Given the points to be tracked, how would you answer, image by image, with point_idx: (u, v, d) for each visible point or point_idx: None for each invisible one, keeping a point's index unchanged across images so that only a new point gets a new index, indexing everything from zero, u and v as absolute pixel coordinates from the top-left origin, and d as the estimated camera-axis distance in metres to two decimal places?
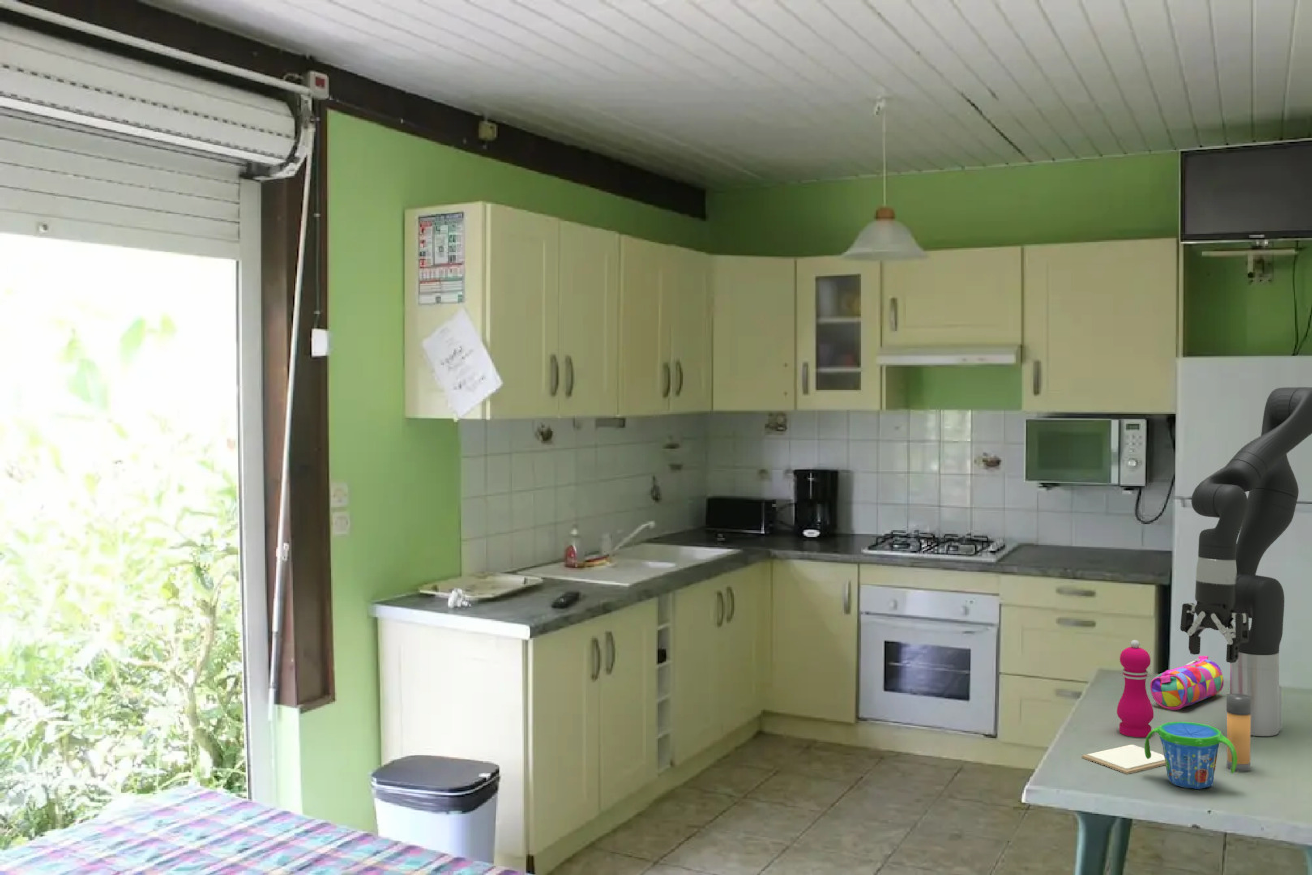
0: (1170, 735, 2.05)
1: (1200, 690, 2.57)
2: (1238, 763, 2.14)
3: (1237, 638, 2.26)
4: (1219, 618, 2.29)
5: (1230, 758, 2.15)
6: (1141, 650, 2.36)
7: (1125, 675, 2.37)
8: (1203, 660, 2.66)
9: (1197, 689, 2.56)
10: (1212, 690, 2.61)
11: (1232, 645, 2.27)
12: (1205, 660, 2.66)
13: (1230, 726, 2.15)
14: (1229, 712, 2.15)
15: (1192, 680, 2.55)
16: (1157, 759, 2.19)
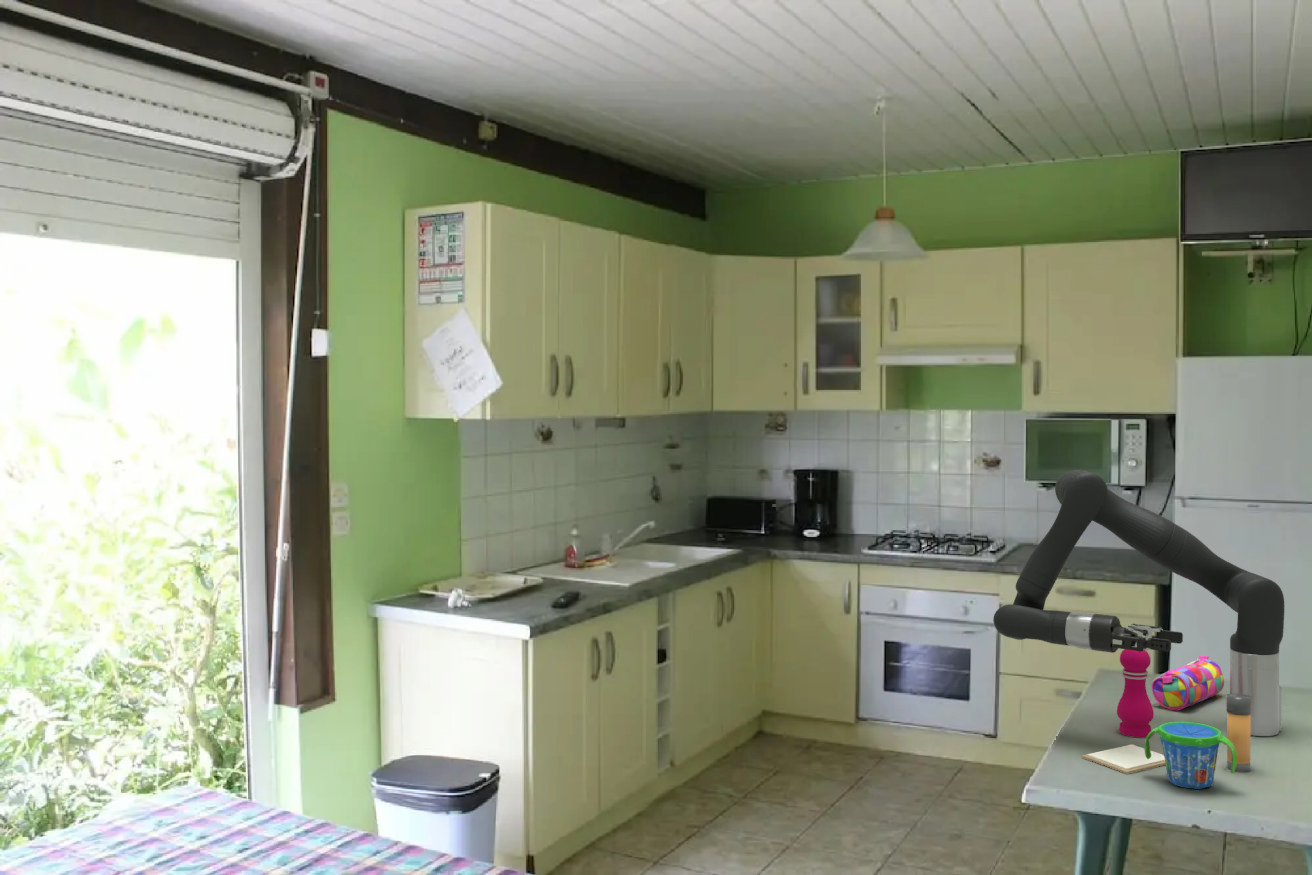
0: (1170, 735, 2.05)
1: (1202, 690, 2.56)
2: (1238, 763, 2.14)
3: None
4: None
5: (1230, 758, 2.15)
6: None
7: (1125, 675, 2.37)
8: (1203, 660, 2.66)
9: (1198, 690, 2.55)
10: (1213, 690, 2.60)
11: None
12: (1205, 660, 2.66)
13: (1230, 726, 2.15)
14: (1229, 712, 2.15)
15: (1193, 680, 2.55)
16: (1157, 759, 2.19)
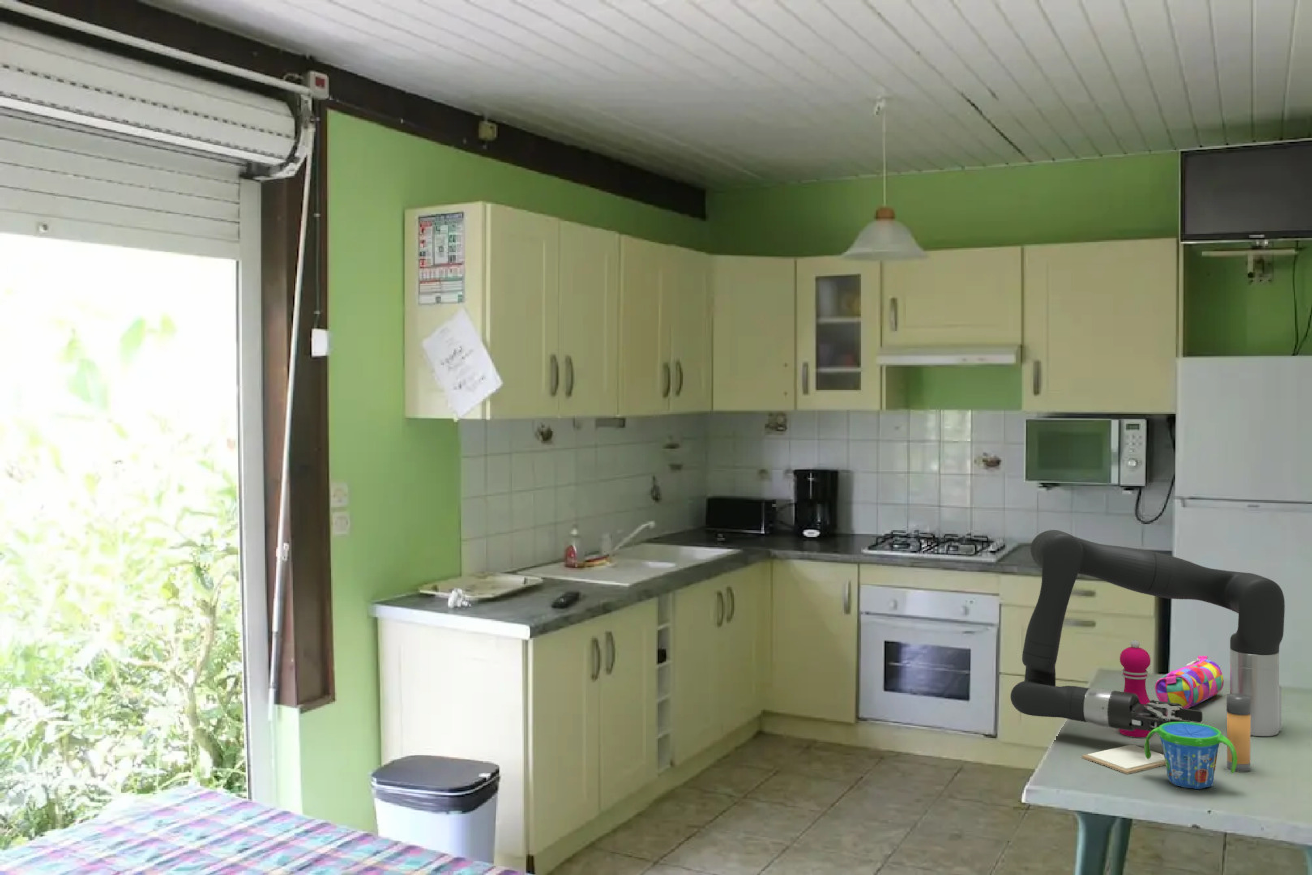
0: (1170, 735, 2.05)
1: (1204, 690, 2.56)
2: (1238, 763, 2.14)
3: None
4: None
5: (1230, 758, 2.15)
6: (1141, 650, 2.36)
7: (1125, 675, 2.37)
8: (1203, 660, 2.66)
9: (1201, 690, 2.55)
10: (1214, 690, 2.61)
11: None
12: (1205, 660, 2.66)
13: (1230, 726, 2.15)
14: (1229, 712, 2.15)
15: (1196, 680, 2.55)
16: (1157, 759, 2.19)
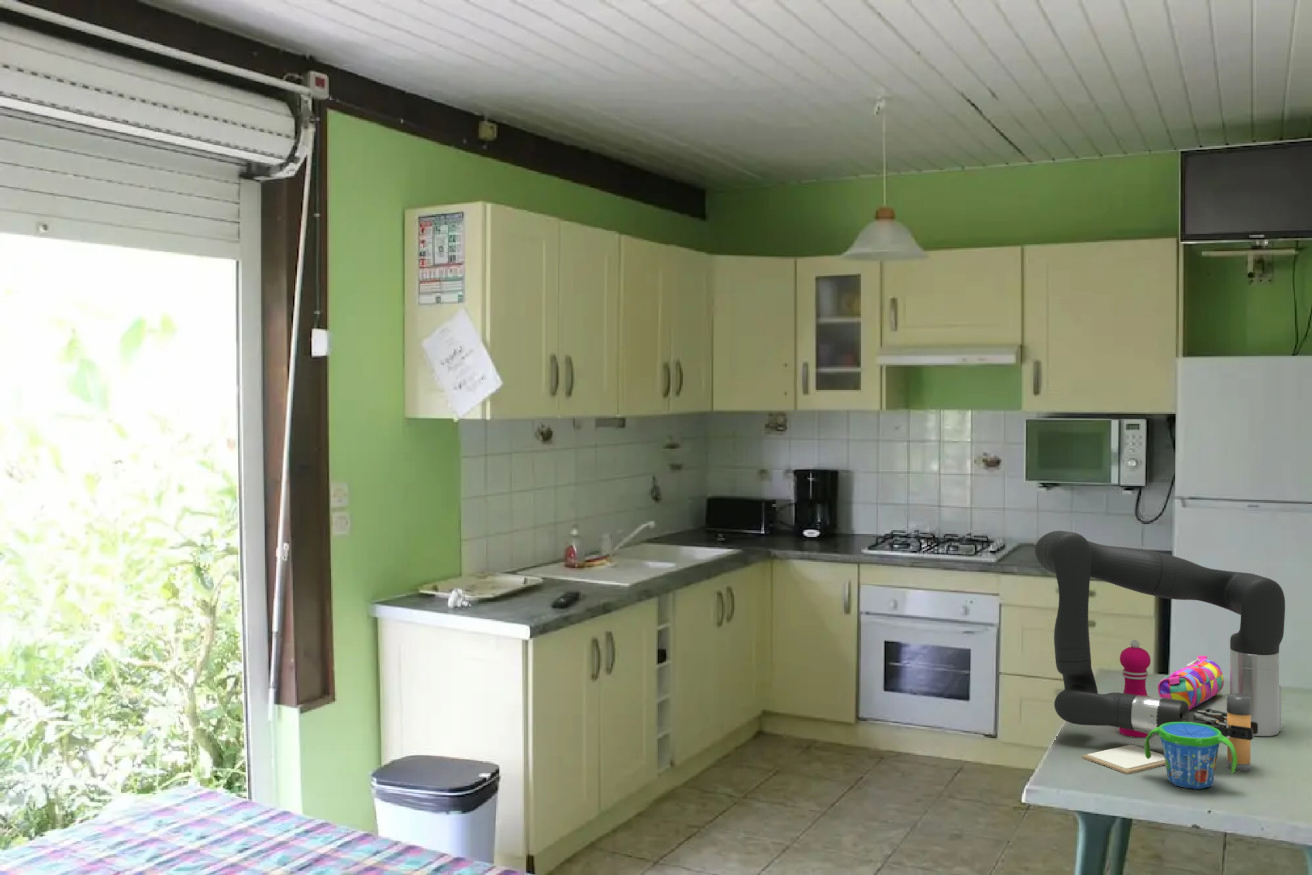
0: (1170, 735, 2.05)
1: (1206, 690, 2.56)
2: (1238, 763, 2.14)
3: None
4: None
5: (1230, 758, 2.15)
6: (1141, 650, 2.36)
7: (1125, 675, 2.37)
8: (1203, 660, 2.66)
9: (1203, 690, 2.55)
10: (1215, 690, 2.61)
11: None
12: (1205, 660, 2.66)
13: (1230, 726, 2.15)
14: (1229, 712, 2.15)
15: (1199, 680, 2.54)
16: (1157, 759, 2.19)
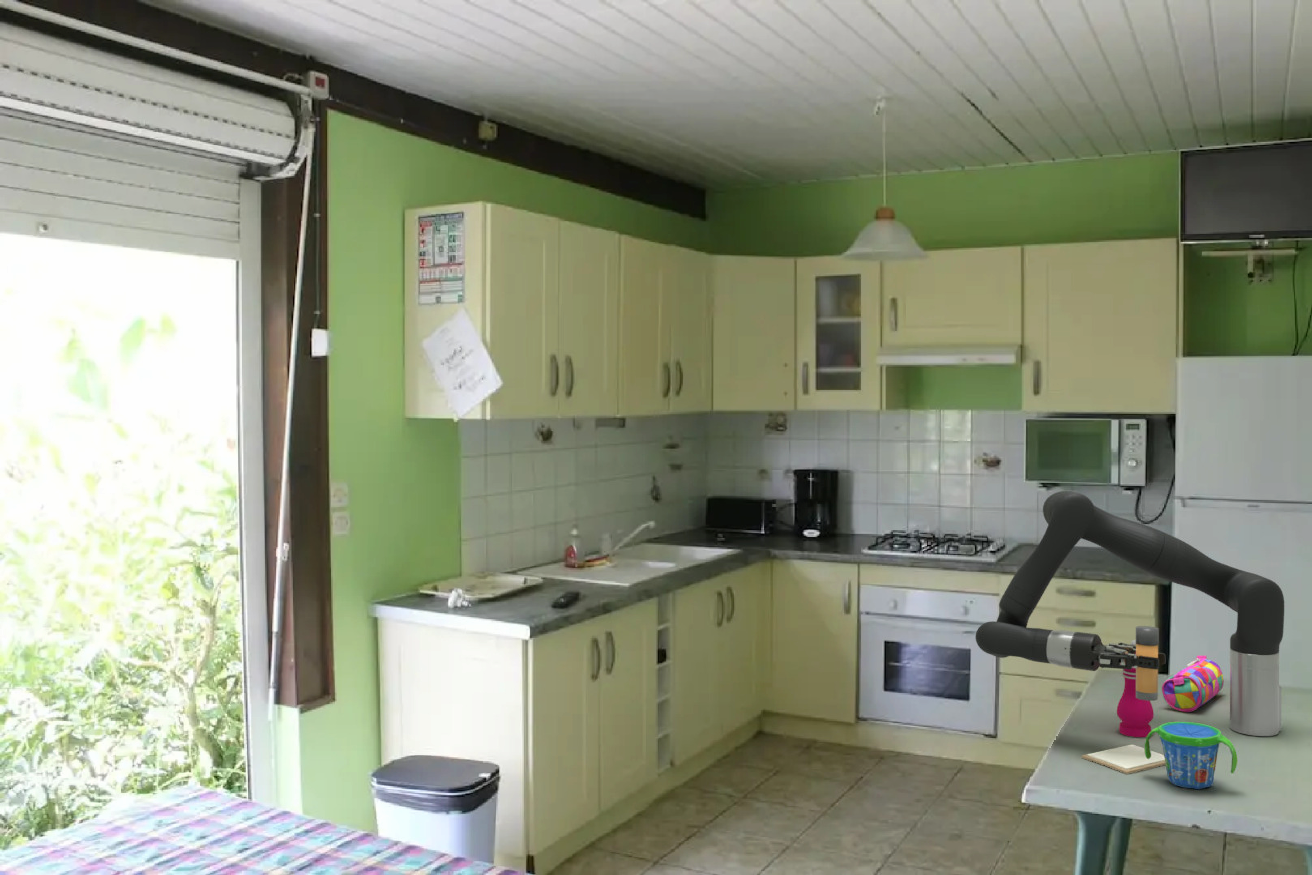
0: (1170, 735, 2.05)
1: (1209, 690, 2.56)
2: (1145, 692, 2.21)
3: None
4: None
5: (1138, 688, 2.23)
6: None
7: (1125, 675, 2.37)
8: (1203, 660, 2.66)
9: (1207, 690, 2.55)
10: (1217, 690, 2.61)
11: None
12: (1205, 660, 2.66)
13: (1138, 657, 2.22)
14: (1137, 643, 2.22)
15: (1203, 681, 2.54)
16: (1157, 759, 2.19)
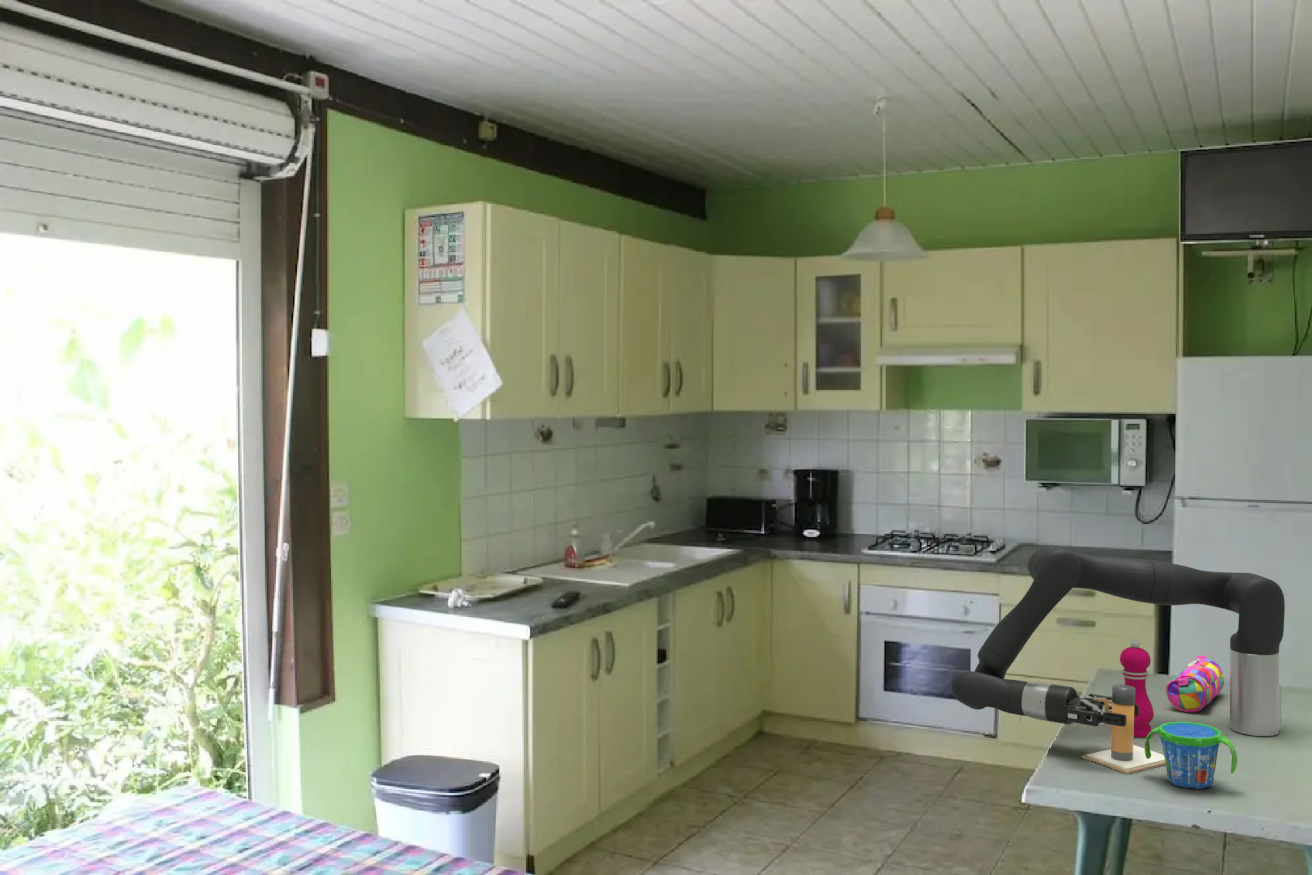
0: (1170, 735, 2.05)
1: (1212, 690, 2.56)
2: (1121, 752, 2.19)
3: None
4: None
5: (1113, 747, 2.20)
6: (1141, 650, 2.36)
7: (1125, 675, 2.37)
8: (1204, 660, 2.66)
9: (1210, 690, 2.54)
10: (1218, 690, 2.61)
11: None
12: (1206, 660, 2.66)
13: None
14: (1114, 702, 2.20)
15: (1206, 681, 2.54)
16: (1157, 759, 2.19)
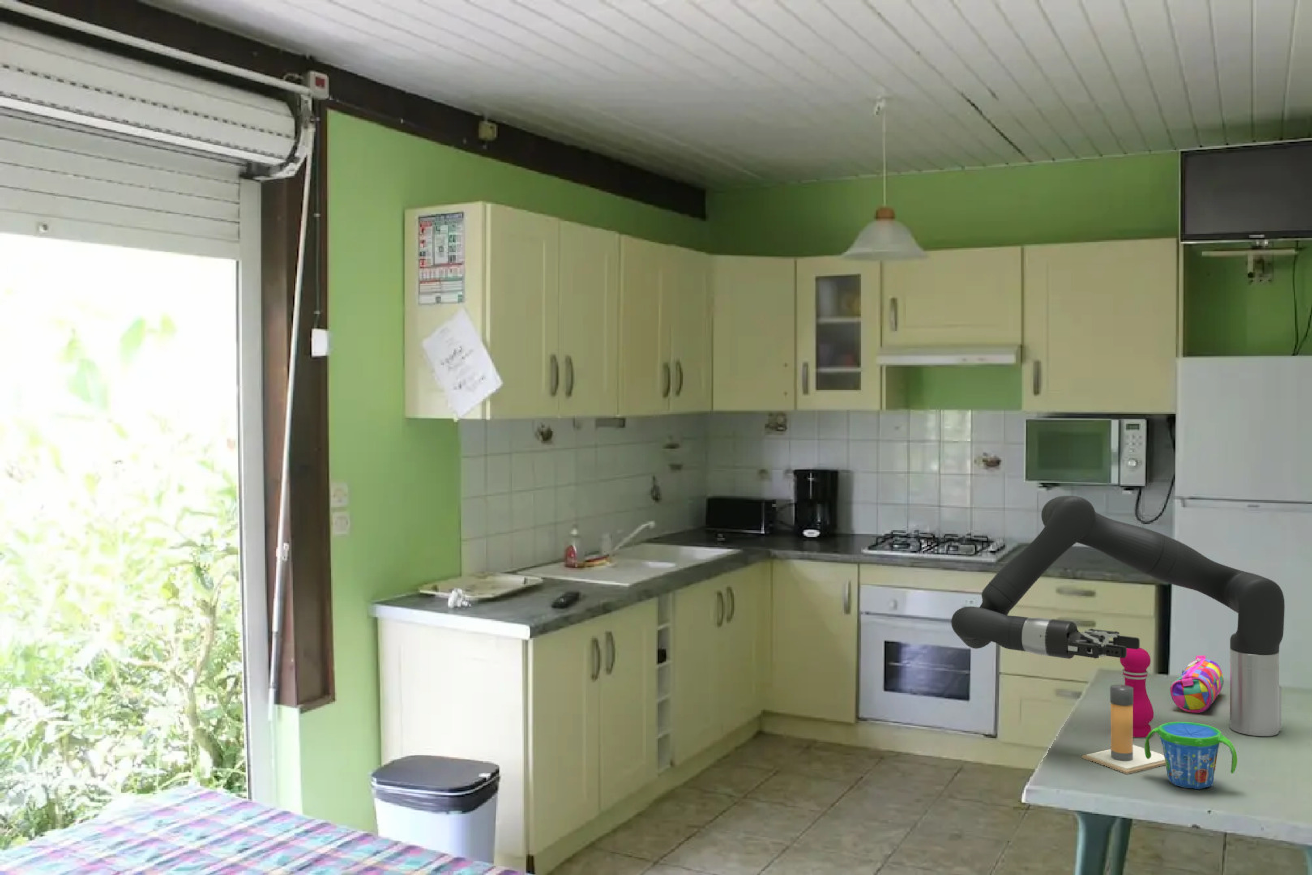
0: (1170, 735, 2.05)
1: (1215, 691, 2.56)
2: (1120, 752, 2.19)
3: None
4: None
5: (1113, 747, 2.20)
6: (1141, 650, 2.36)
7: (1125, 675, 2.37)
8: (1204, 660, 2.66)
9: (1213, 690, 2.54)
10: (1219, 690, 2.61)
11: None
12: (1205, 660, 2.66)
13: (1113, 717, 2.20)
14: (1112, 703, 2.20)
15: (1210, 681, 2.54)
16: (1157, 759, 2.19)
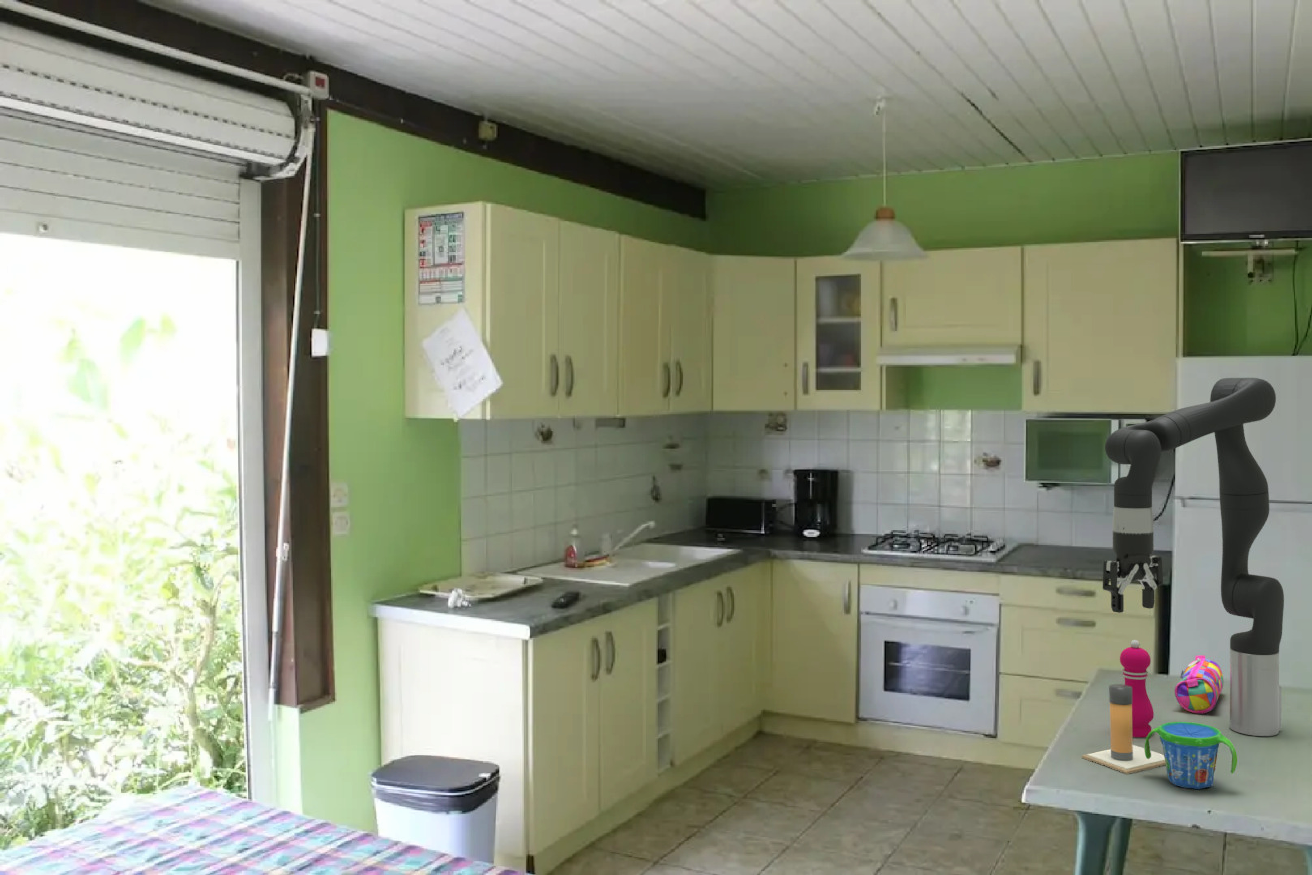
0: (1170, 735, 2.05)
1: (1218, 691, 2.56)
2: (1120, 752, 2.19)
3: None
4: None
5: (1113, 747, 2.20)
6: (1141, 650, 2.36)
7: (1125, 675, 2.37)
8: (1204, 660, 2.66)
9: (1217, 691, 2.54)
10: (1221, 690, 2.61)
11: None
12: (1206, 660, 2.66)
13: (1112, 716, 2.20)
14: (1111, 702, 2.20)
15: (1213, 681, 2.53)
16: (1157, 759, 2.19)
